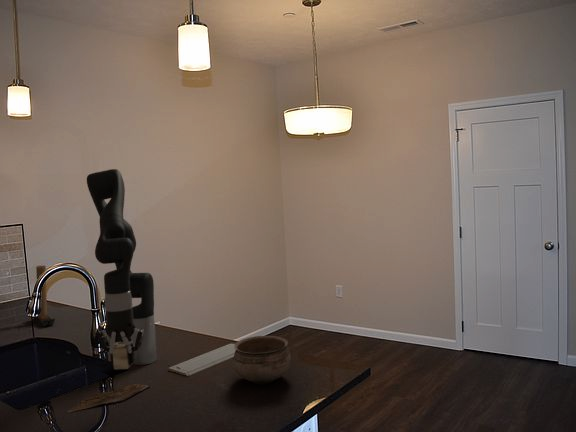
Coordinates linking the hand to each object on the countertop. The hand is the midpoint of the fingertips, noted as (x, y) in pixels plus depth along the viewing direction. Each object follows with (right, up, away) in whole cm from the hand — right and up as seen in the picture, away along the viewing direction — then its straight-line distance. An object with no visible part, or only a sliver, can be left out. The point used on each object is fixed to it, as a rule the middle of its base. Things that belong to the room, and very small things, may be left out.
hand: (123, 364), depth 152 cm
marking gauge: (0, 0, +4) cm, 4 cm away
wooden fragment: (-8, -14, +10) cm, 19 cm away
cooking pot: (+40, -11, +19) cm, 46 cm away
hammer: (-72, -10, +103) cm, 126 cm away
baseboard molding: (+20, -11, +40) cm, 46 cm away
